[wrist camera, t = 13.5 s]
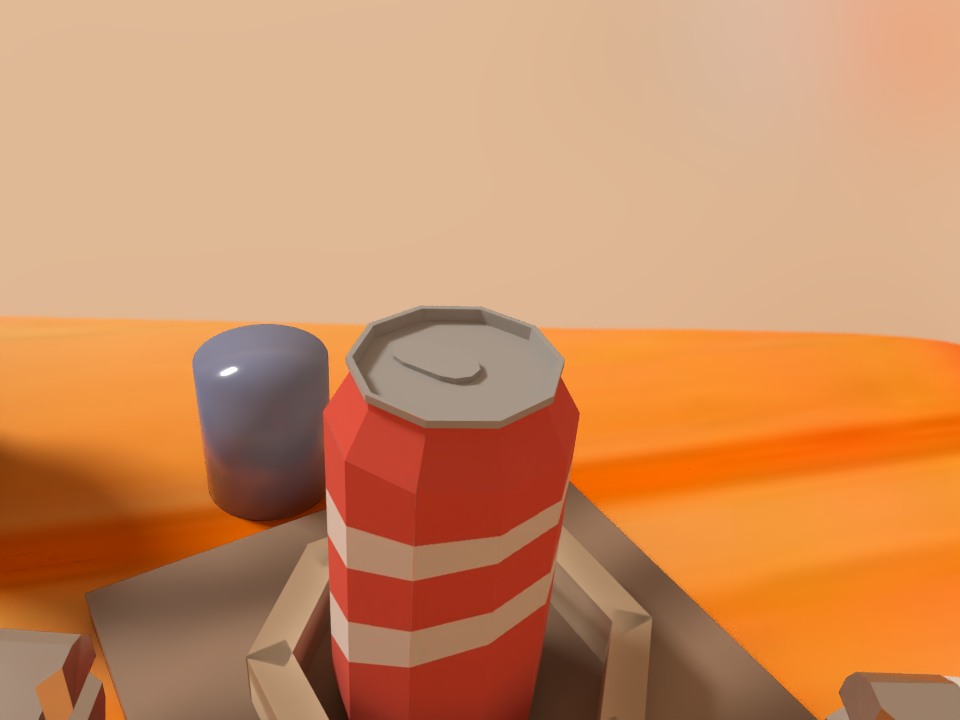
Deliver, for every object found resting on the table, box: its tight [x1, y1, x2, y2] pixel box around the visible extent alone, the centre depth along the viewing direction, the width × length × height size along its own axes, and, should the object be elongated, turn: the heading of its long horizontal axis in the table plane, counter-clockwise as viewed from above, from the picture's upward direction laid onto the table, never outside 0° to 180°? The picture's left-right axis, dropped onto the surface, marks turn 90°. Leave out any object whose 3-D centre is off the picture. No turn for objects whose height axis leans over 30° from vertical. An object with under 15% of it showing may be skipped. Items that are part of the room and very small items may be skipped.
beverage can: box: [323, 306, 580, 720], centre depth 24 cm, size 6×6×12 cm
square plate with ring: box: [85, 481, 817, 720], centre depth 28 cm, size 18×18×3 cm
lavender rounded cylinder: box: [193, 324, 330, 521], centre depth 35 cm, size 5×5×6 cm
